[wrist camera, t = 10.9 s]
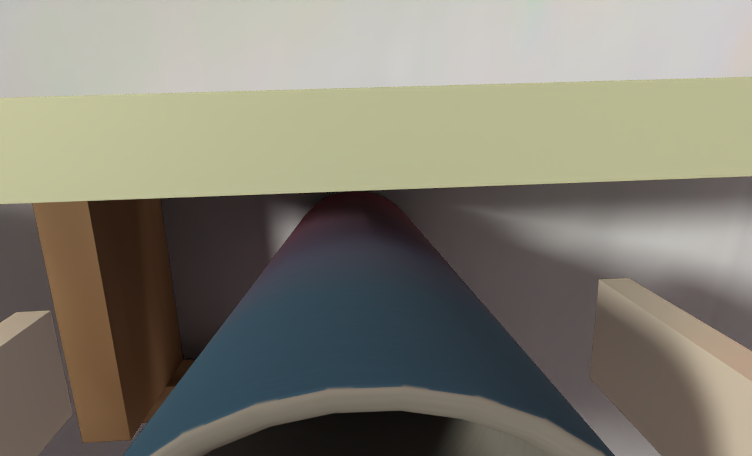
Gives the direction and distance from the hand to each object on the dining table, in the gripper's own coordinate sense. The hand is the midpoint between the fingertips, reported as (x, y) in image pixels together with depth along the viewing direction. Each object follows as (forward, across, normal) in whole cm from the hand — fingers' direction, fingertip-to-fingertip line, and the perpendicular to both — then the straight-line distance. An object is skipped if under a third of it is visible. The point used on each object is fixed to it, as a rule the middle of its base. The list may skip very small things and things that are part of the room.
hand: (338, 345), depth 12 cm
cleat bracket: (+8, -2, -1) cm, 8 cm away
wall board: (+8, +4, +5) cm, 10 cm away
